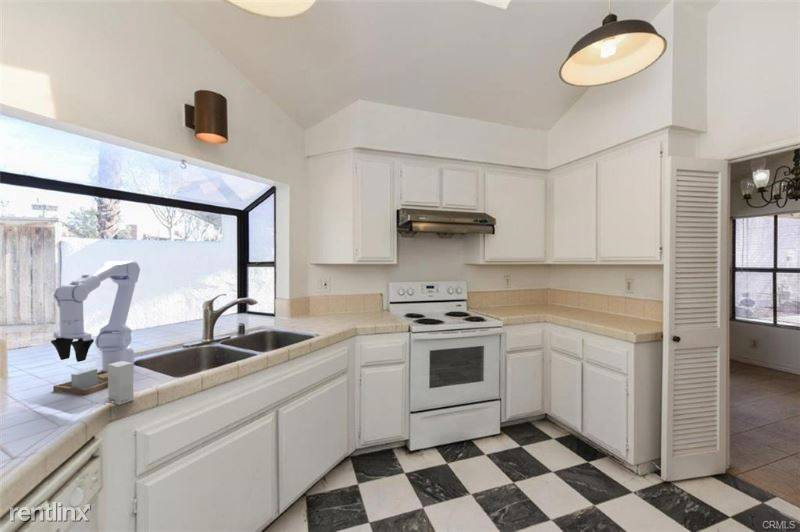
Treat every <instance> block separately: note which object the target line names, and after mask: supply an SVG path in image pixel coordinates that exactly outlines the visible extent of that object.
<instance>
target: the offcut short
mask: <svg viewBox="0 0 800 532" xmlns="http://www.w3.org/2000/svg"><path fill="white" fill-rule="evenodd" d="M97 382H98V383H100V384H102V383H105V382H108V373H104V374H100V375H97Z"/></svg>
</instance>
